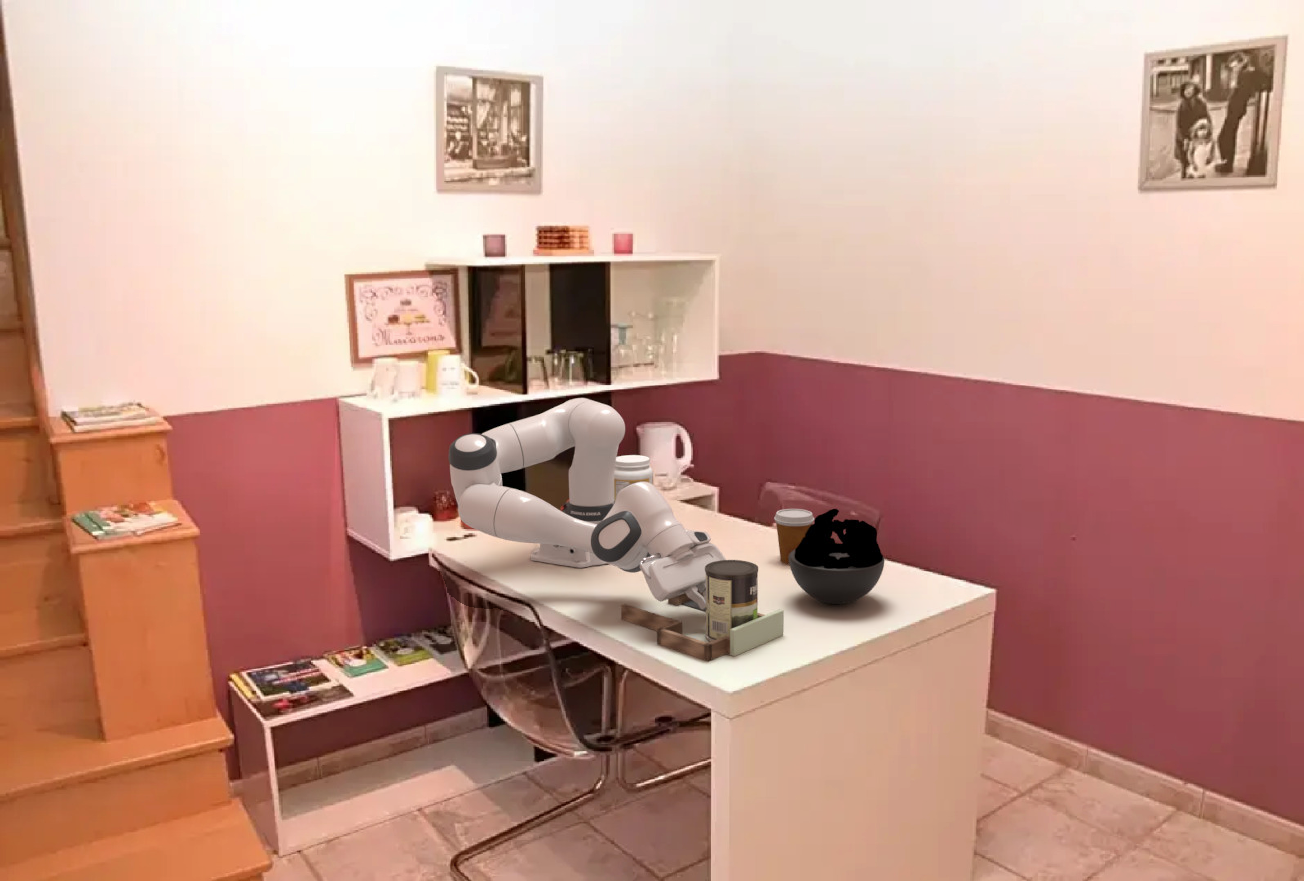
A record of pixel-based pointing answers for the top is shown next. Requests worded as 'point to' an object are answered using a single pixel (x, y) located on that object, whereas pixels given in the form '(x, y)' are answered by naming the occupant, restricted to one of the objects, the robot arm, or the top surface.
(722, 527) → the top surface
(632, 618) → the trap lane
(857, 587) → the coal bowl
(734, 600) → the coffee can
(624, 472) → the supplement tub
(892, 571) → the top surface
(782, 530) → the disposable coffee cup
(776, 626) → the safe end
